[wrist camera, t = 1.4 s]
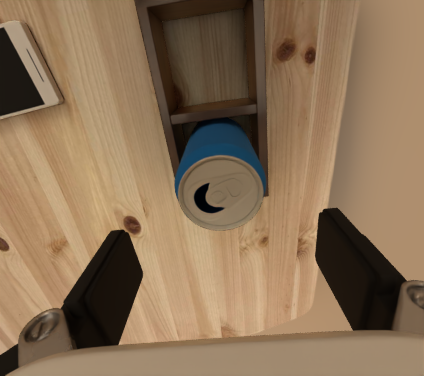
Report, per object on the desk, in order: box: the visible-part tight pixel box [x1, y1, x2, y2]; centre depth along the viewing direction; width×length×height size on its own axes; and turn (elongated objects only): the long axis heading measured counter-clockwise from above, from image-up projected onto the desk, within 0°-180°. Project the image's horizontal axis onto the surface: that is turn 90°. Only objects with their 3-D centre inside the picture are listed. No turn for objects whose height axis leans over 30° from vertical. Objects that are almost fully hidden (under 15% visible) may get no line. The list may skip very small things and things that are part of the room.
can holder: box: [134, 0, 269, 197], centre depth 21 cm, size 17×9×5 cm, turn 8°
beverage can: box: [175, 117, 266, 231], centre depth 20 cm, size 6×6×12 cm
